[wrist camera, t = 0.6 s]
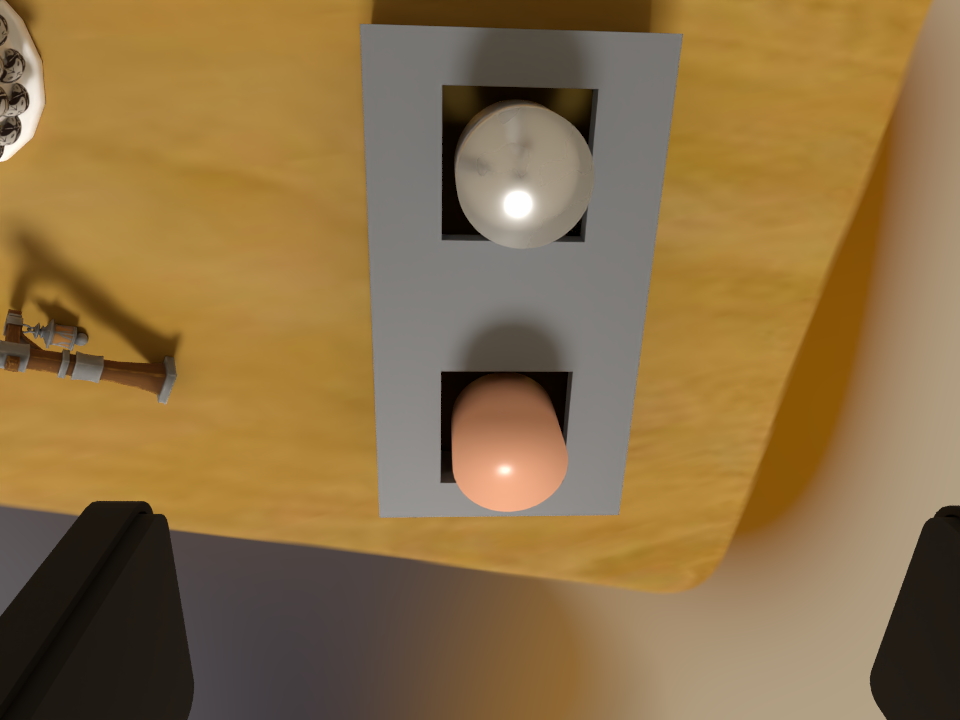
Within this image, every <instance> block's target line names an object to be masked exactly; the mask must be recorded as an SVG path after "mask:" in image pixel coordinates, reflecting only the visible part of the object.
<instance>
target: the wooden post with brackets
mask: <svg viewBox="0 0 960 720" xmlns="http://www.w3.org/2000/svg"><path fill="white" fill-rule="evenodd" d="M21 314H22V312H21V311H16V310H11V309H9V311H8V315H7V318H6V322H5V326H4V333H3V335H4V336H5V341H2V340H0V368H4V370H8V371H15V372H18V371H21V372H25V369H32V370H38V371H44V372H51V373H57V374H58V377H61V378H65V375H69V376H71V380H74V379H80V380H88V381H93V382H96V383H98V382H99V380H104V381H110V382H116V383H120V384H124V385H128V386H131V387H135V388H139V389H143V390H146V391H149V392H152V393H155V394H157V398H158V402H162V403H164V404H165V405H166V403H167V400H168V398H169V395H170V392H171V390H172V387H173V384H174V382H175V379H176V376H177V374H176V368H175V361H174V357H167V356H165V359H164V362H163V363H132V362H117V361H110V360H104V359H103V356H94V355H88V354H83V353H80V352H78V351H77V352H76V355H74V354H70V351H72V350H73V347H74V344H76V345H79V346H83V345H85V344H86V343H87V342H88V337H87V336H86V335H85V334H84V333H78V334H77V327H73V326H64V325H57V324H54V319H52V320H51V322H50V323H49V324H48V325H47V326H46V327H44V326H42V328H41V329H40V324H39V323H38V324H37V325H36V326H35V327H30V326H29V325H26V324H23V318H22V315H21ZM23 326H27V327H28V328H27V330H28V331H27V332H24V331H22V327H23ZM31 329H33V331H31ZM29 332H31V333H33V335H34V337H35V339H36V338H37V337H38V334H39V335H40V338H42V337H43V339H44V341H45V344H46V348H49V344H53V345H57V346H61V347H66V348H68V349H70V350H64V349H63V351H62V353H60V352H53V351H45V350H42V349H41V348H40V347H39V346H37V345H36V344H35V343H34V342H32V341H31V340H30V339H28V338H27V337H26V336H25V335H24V334H23V333H29Z"/></svg>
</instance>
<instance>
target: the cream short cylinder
mask: <svg viewBox="0 0 960 720" xmlns="http://www.w3.org/2000/svg"><path fill="white" fill-rule="evenodd" d="M454 171H455V180H456V188H457V194H458V199H459V202H460V205H461V208H462V210H463V212H464V214H465V216H466V217H467V219H468V220H469V222H470V223H471V224H472V225H473V227H474V228H475V229H476V230H477V231H478V232H479V233H481V234H482V235H483V236H484V237H486V238H487V239H489V240H491V241H493V242H495V243H497V244H500V245H502V246H505V247H510V248H518V249H528V248H535V247H540V246H543V245H547V244H549V243H551V242H553V241H556V240H557V239H559V238H560V237H562V236H564V235H565V234H566V233H567V232H569V231H570V230H571V229H572V228H573V227H574V226H575V225H576V224H577V222H578V221H579V220H580V218H581V217H582V216H583V214H584V212H585V211H586V209H587V207H588V204H589V202H590V199H591V196H592V192H593V187H594V164H593V159H592V155H591V152H590V150H589V147H588V145H587V143H586V141H585V139H584V138H583V136H582V135H581V134H580V132H579V131H578V130H577V129H576V128H575V127H574V126H573V125H572V124H571V123H570V122H569V121H567V120H566V119H565V118H563V117H561V116H560V115H558V114H556V113H555V112H553V111H551V110H549V109H548V108H546V107H544V106H542V105H540V104H538V103H535V102H532V101H528V100H522V99H509V100H504V101H500V102H497V103H494V104H492V105H490V106H488V107H486V108H484V109H483V110H481V111H480V112H478V113H477V114H476V115H475V116H474V117H473V118H472V119H471V120H470V121H469V122H468V124H467V125H466V127H465V128H464V130H463V131H462V133H461V135H460V137H459V140H458V143H457V146H456V150H455V156H454Z"/></svg>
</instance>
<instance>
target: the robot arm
mask: <svg viewBox="0 0 960 720" xmlns="http://www.w3.org/2000/svg"><path fill="white" fill-rule="evenodd" d="M870 686H871V691H872V695H873V697H874V700H875V702H876V704H877V705H878V707H879V708H880V710H881V712H882V713H883V714H884V716H885V717H886V719H887V720H960V506H946V507H942V508H941V509H940V510H939V511H938V512H936V514H935V516H934V518H930V519H929V520H928V521H926V523H925V524H924V526H923V528H922V531H921V534H920V537H919V539H918V542H917V545H916V548H915V551H914V553H913V556H912V559H911V562H910V564H909V567H908V570H907V573H906V576H905V578H904V581H903V584H902V587H901V590H900V593H899V595H898V598H897V601H896V603H895V606H894V609H893V612H892V615H891V617H890V620H889V623H888V626H887V629H886V631H885V634H884V637H883V640H882V642H881V645H880V648H879V651H878V654H877V657H876V659H875V662H874V665H873V668H872V670H871V675H870ZM193 694H194V679H193V673H192V667H191V661H190V654H189V649H188V642H187V636H186V630H185V624H184V618H183V612H182V606H181V599H180V593H179V587H178V581H177V575H176V569H175V563H174V557H173V551H172V545H171V539H170V532H169V526H168V522H167V519H166V517H165V516H164V515H162V514H153V511H152V508H151V507H150V505H149V504H148V503H146V502H144V501H96V502H92V503H91V504H90V505H89V506H88V507H86V508H85V510H84V511H83V512H82V514H81V515H80V516H79V517H78V519H77V520H76V521H75V522H74V524H73V525H72V527H71V528H70V529H69V530H68V531H67V533H66V534H65V535H64V536H63V538H62V539H61V540H60V541H59V543H58V544H57V545H56V547H55V548H54V549H53V550H52V552H51V553H50V554H49V556H48V557H47V558H46V559H45V561H44V562H43V563H42V564H41V566H40V567H39V568H38V569H37V571H36V572H35V573H34V574H33V576H32V577H31V578H30V580H29V581H28V582H27V583H26V585H25V586H24V587H23V589H22V590H21V591H20V592H19V594H18V595H17V596H16V597H15V599H14V600H13V601H12V603H11V604H10V605H9V606H8V607H7V609H6V610H5V611H4V613H3V614H2V615H1V616H0V720H187V719H188V716H189V713H190V710H191V706H192V701H193Z"/></svg>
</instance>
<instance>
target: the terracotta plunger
mask: <svg viewBox="0 0 960 720" xmlns="http://www.w3.org/2000/svg"><path fill="white" fill-rule="evenodd" d="M451 432H452V465H453V474H454V478H455V480H456V483H457V485H458V486H459V488H460V490H461V491H462V492H463V493H464V494H465V495H466V496H467V497H468V498H469V499H470V500H471V501H473V502H474V503H476V504H478V505H480V506H482V507H484V508H487V509H490V510H495V511H502V512H512V511H520V510H525V509H528V508H531V507H533V506H536V505H538V504H540V503H541V502H543V501H545V500H546V499H547V498H549V497H550V496H551V495H552V494H553V493H554V492H555V491H556V490H557V489H558V488H559V486H560V485H561V483H562V481H563V479H564V477H565V475H566V471H567V467H568V453H567V449H566V445H565V442H564V439H563V436H562V433H561V429H560V426H559V423H558V420H557V417H556V413H555V410H554V407H553V404H552V401H551V399H550V397H549V395H548V393H547V392H546V390H545V389H544V388H543V387H542V386H541V385H540V384H538V383H537V382H536V381H534V380H533V379H531V378H529V377H527V376H524V375H521V374H518V373H512V372H497V373H492V374H488V375H485V376H483V377H480V378H478V379H476V380H475V381H473V382H471V383H470V384H469V385H468V386H466V387H465V388H464V389H463V390H462V392H461V393H460V394H459V396H458V397H457V399H456V401H455V403H454V406H453V409H452V414H451Z"/></svg>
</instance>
